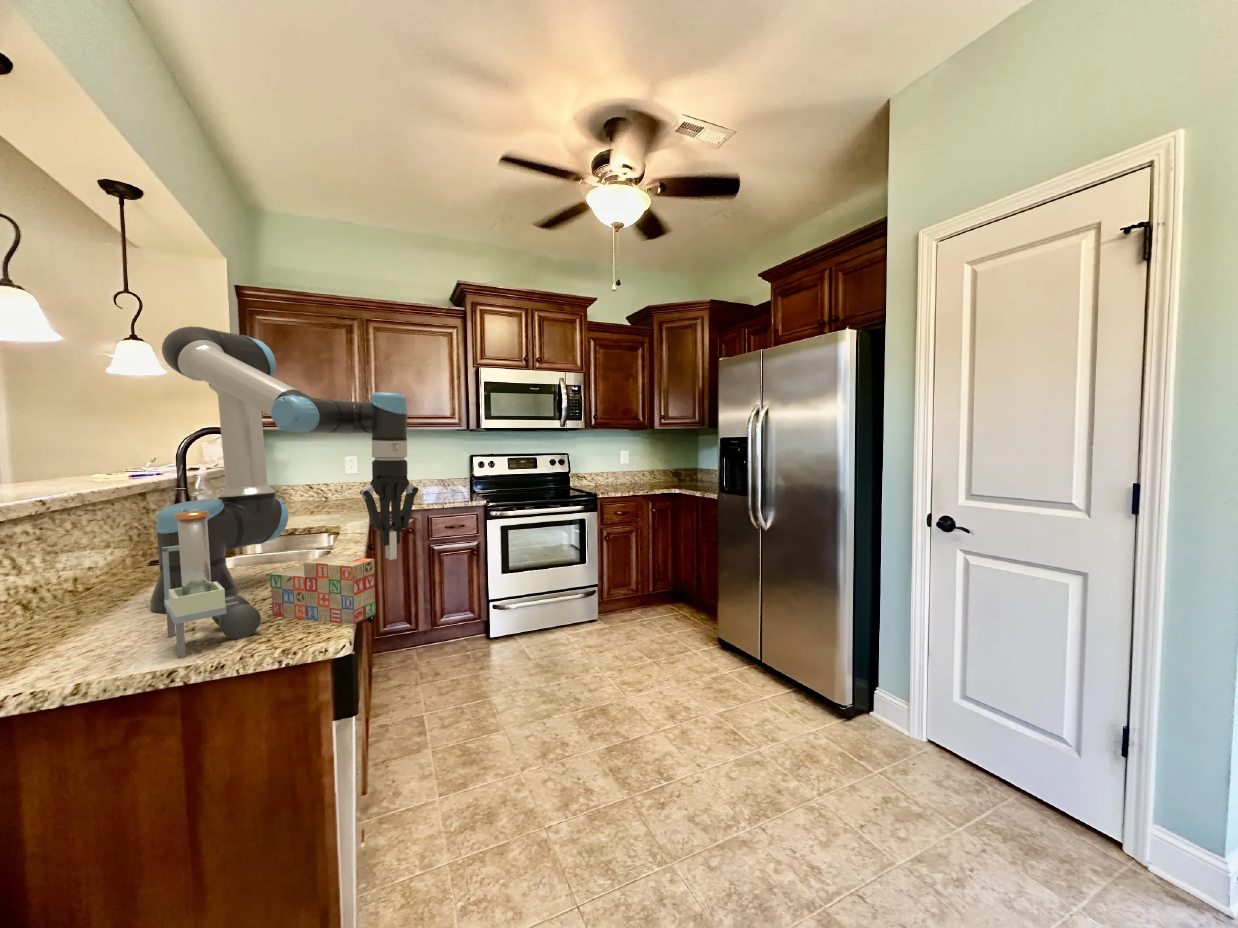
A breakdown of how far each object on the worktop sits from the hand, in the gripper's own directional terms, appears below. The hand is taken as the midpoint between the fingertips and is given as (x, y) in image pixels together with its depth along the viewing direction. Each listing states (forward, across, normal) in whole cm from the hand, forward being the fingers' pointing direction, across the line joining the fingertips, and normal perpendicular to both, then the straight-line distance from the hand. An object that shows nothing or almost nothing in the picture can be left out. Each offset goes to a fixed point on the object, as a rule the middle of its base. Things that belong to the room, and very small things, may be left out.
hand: (391, 558), depth 115 cm
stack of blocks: (+10, -15, -1) cm, 18 cm away
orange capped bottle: (+2, -35, -2) cm, 35 cm away
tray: (+3, -35, -2) cm, 35 cm away
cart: (+10, -32, +2) cm, 34 cm away
